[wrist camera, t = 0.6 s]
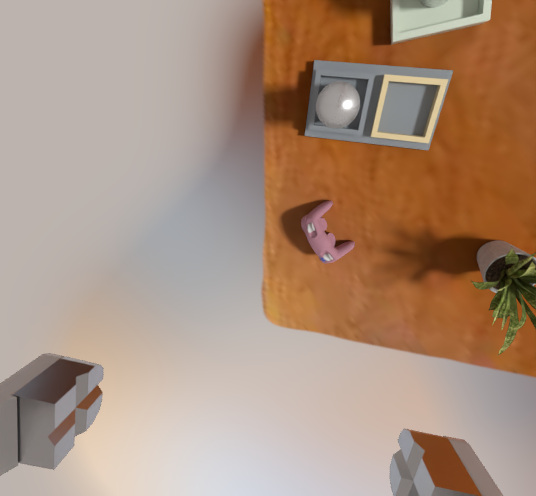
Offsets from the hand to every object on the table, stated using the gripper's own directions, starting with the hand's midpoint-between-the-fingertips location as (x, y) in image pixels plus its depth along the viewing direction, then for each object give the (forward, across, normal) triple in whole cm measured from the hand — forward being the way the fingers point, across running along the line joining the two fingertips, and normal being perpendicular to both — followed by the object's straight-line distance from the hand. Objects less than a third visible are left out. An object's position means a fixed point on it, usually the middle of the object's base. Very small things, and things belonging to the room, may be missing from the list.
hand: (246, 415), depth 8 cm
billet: (+42, -5, -18) cm, 46 cm away
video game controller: (+48, -8, +1) cm, 49 cm away
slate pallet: (+42, -9, -18) cm, 47 cm away
